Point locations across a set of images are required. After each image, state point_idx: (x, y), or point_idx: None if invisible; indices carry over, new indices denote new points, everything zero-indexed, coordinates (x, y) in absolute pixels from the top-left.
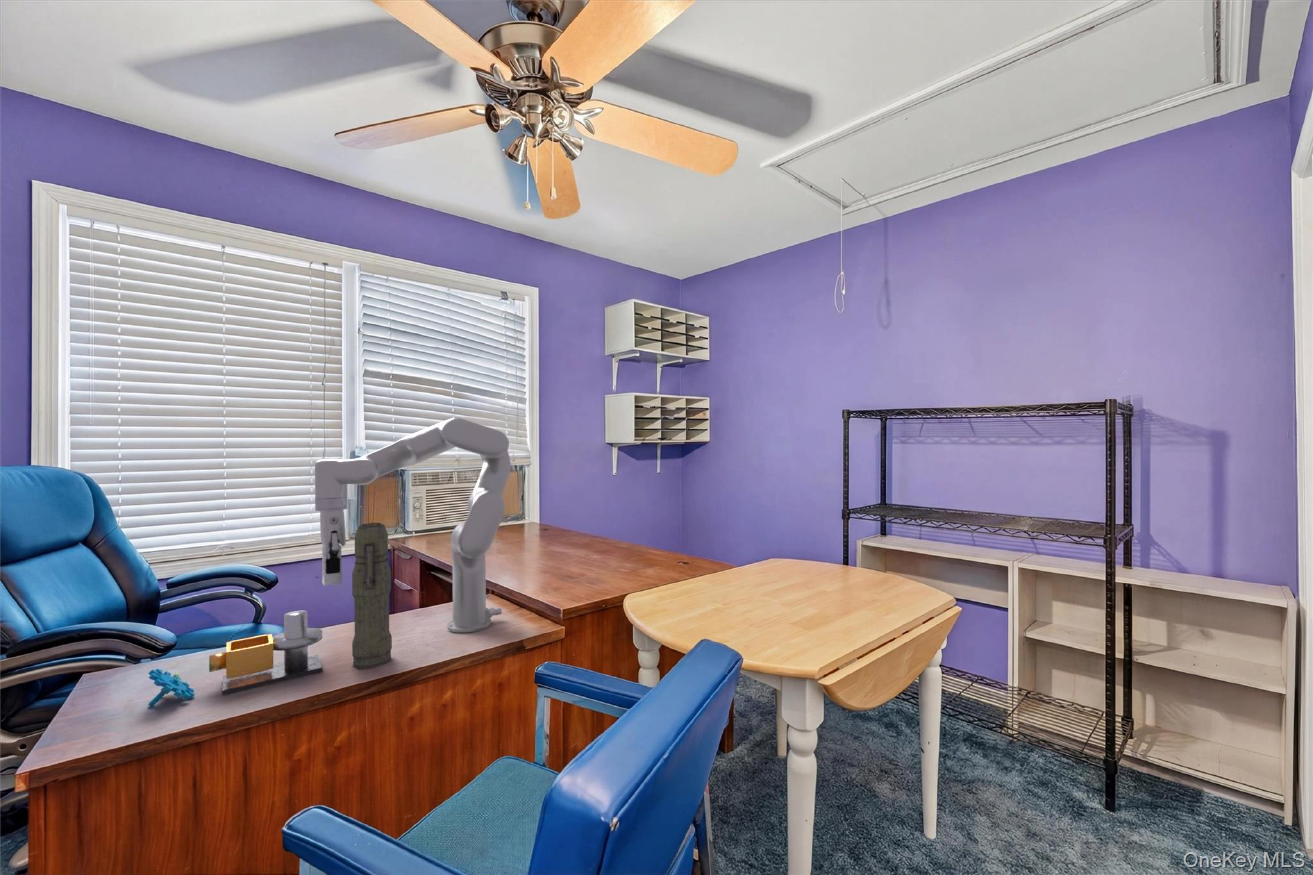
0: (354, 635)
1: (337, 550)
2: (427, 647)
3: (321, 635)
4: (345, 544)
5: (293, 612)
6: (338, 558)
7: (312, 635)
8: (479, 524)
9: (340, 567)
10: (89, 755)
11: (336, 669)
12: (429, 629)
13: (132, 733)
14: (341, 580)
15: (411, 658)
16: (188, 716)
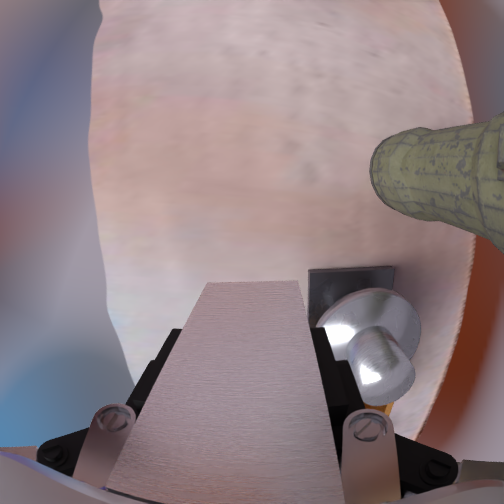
0: (413, 213)
1: (497, 463)
2: (388, 60)
3: (394, 293)
4: (487, 484)
5: (371, 391)
6: (344, 409)
7: (398, 315)
8: None
9: (309, 338)
10: (416, 439)
11: (399, 241)
12: (258, 21)
13: (400, 430)
14: (298, 287)
15: (431, 107)
16: (405, 403)
